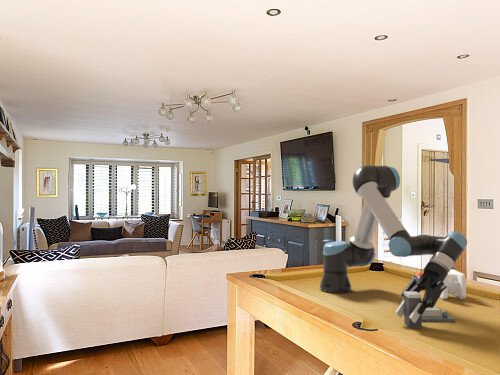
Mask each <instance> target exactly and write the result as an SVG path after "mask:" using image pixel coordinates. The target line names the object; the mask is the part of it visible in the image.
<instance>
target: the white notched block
mask: <svg viewBox="0 0 500 375" xmlns="http://www.w3.org/2000/svg"><path fill="white" fill-rule="evenodd" d="M466 280H467V279H466V275H465V274H464V273H462V272H461V271H458V270H455V269H453V268H451V270H450V272H449V273H448V275H447V276H446V278H445V279H444V281H442V282H444V284H445V285H446V286H447V288H446V289H445V290H444V291H443V292H442V293H441V295H440V297H439V298H440V299H441V300H446V299H448V298H449V297H450V295H451V296H452V295H453V296H454V297H457V298H458V299H459V300H464V299H466V297H467V290H466V289H467V285H466V282H467V281H466Z"/></svg>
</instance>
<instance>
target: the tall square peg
mask: <svg viewBox="0 0 500 375" xmlns="http://www.w3.org/2000/svg"><path fill="white" fill-rule="evenodd" d="M420 301H422V294H421V293H420V292H419V293H418V292H410V291H404V315H403V318H404V320H403V321H404V325H405V326H406V327H408V328H409V329H422V328H423V327H422V326H423V321H422V315H420V316H419V318H418V319H417V321H416V322H415V323H414V322H413V321H412V320H411V319H410V318H409V317H410V315H411V314H412V312H413V311H414V309H415V308H416V306H417V305H418V303H421V302H420ZM421 304H422V303H421Z"/></svg>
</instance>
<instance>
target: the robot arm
mask: <svg viewBox="0 0 500 375" xmlns="http://www.w3.org/2000/svg"><path fill="white" fill-rule="evenodd" d="M400 184H401V175H400V174H399V171H398V170H397V168H395V167H393V166H389V165H370V164H367V165H362V166H360V167H358V169H356V170H355V171H354V174H353V176H352V187H353V189H354V192H355V193H356V195H357V196H358V197H359V198H362V200H363V201H364V204H363V207H362V209H361V214H360V216H359V217H360V218H359V219H358V223H357V226H356V229H355V233H354V235H353V236H351V237H350V238H349V243H347V241H343V240H341V241H340V240H338V241H337V240H335V241H330V242H326V243H325V244H324V245H323V249H322V250H323V251H322V257H323V259H322V263H323V264H322V265H323V268H322V269H323V271H322V272H323V274H322V276H321V280H320V283H319V289H320V288H321V289H322V290H326V291H330V292H329V293H331V292H337V293H336V294H343V292H346V293H350V292H352V284H351V281H350V278H349V276H348V268H357V267H366V266H369V265H370V266H371V264H372V263H373V262H374V261H375V258H376V252H375V251H376V248H375V247H374V242H372V241H373V238H374V234H375V232H376V228H377V226H378V224H379V226H380V228H382V230H383V231H384V233H385V235H386V237H387V238H388V240H389V241H388V245H387V246H388V248H389V249H388V250H389V252H390V254H391V255H392V256H394V257H400V258H401V257H402V258H406V257H414V256H426V255H428V256H429V255H431V258H429V262H427V263H426V265H425V266H424V267H423V273H421V274H422V275H420V276H416V275H415V274H413V276H412V277H411V279H410V281H409V282H408V283H407V285H406V286H405V287H404V289H403V291H401V293H400V295H401V297H402V300H401V302H400V303H399V306H398V307H397V309H396V310H395V311H394V312H395V313H396V315H397V316H398V317H399V318H402V317H403V316H404V315H403V314H404V291H410V292H418V293H419V294H420V292H422V291H424V290H425V291H424V294H423V297H422V299H421V301H420V302H421V303H418V305H417V306H416V308H415V309H414V311H413V312H412V314H411V315H410V317H409V318H410V319H411V320H412V321H413V322H414V323H415V322H416V321H417V319H418V318H419V316H420V315H422V314H423V312H424V311H425V309H426V308H428V307H431V308H433V307H434V306H436V304H437V302H438V300H439V298H440V295H441V293H442V292H443V291H444V290H445V289H446V288H447V286H446V285H445V284H444V282H442V281H444V279H445V278H446V276H447V275H448V274H449V272H450V270H451V269H453V267H454V265H455V264H456V263H457V261H458V259H459V258H460V256H461V255H462V254H463V252H464V251H465V249H466V247H467V245H468V240H467V238H466V237H465V235H463V234H462V233H459V232H458V231H449V232H448V233H447V234H446V235H445V236H436V235H431V234H430V235H428V234H418V235H416V236H415V235H414V236H412V235H410V233H409V232H408V231H407V229H406V228H405V226H404V225H403V223H402V222H401V221H400V219H399V218H398V215H396V213H395V212H394V211H393V209H392V207H391V206H390V205H389V203H388V202H387V201H386V200H387V199H389V198H390V197H391V194H392V192H394V191H396V190H397V189H399V187H400ZM420 284H421V285H420ZM321 289H320V290H321ZM322 290H321V291H322ZM349 291H350V292H349Z"/></svg>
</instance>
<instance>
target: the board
mask: <svg viewBox="0 0 500 375" xmlns="http://www.w3.org/2000/svg"><path fill="white" fill-rule="evenodd" d="M402 316H404V314H403V315H402ZM422 322H435V323H437V322H440V323H441V322H443V323H444V322H446V323H450V322H451V323H453V322H456V318H454V317H453V316H451V315H449V314H448V311H447V310H442V309H441V308H439V307H436V305H434V307H433V308H431V307H428V308H426V309H425V311H424V312H423V314H422Z"/></svg>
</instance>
